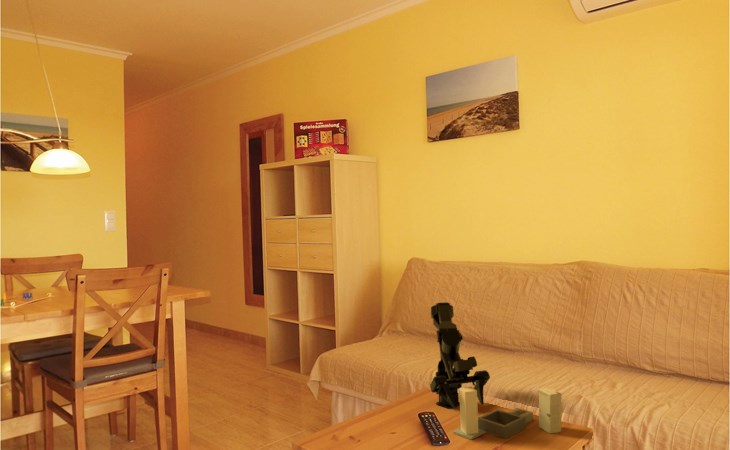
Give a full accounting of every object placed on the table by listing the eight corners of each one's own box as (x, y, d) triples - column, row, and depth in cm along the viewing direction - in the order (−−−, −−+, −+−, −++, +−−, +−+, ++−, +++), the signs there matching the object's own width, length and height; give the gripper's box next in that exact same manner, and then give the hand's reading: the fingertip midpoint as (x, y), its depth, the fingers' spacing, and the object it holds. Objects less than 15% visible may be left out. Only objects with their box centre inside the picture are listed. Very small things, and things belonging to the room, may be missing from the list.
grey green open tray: (477, 428, 171) (477, 417, 171) (511, 413, 183) (511, 403, 183) (505, 438, 163) (505, 427, 163) (539, 421, 175) (539, 411, 175)
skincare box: (538, 427, 171) (537, 388, 170) (550, 424, 172) (549, 386, 172) (550, 434, 165) (549, 394, 165) (562, 432, 166) (561, 392, 166)
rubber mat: (453, 433, 168) (453, 431, 168) (467, 426, 173) (467, 424, 173) (471, 439, 163) (471, 437, 163) (485, 433, 168) (485, 431, 168)
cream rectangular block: (460, 429, 169) (459, 388, 169) (472, 427, 170) (471, 386, 170) (466, 434, 166) (464, 392, 165) (478, 432, 167) (476, 390, 166)
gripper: (432, 351, 170) (448, 397, 159) (486, 345, 175) (505, 389, 164) (423, 369, 178) (438, 415, 167) (475, 363, 183) (493, 406, 172)
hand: (469, 406), depth 168 cm, fingers open, 9 cm apart
